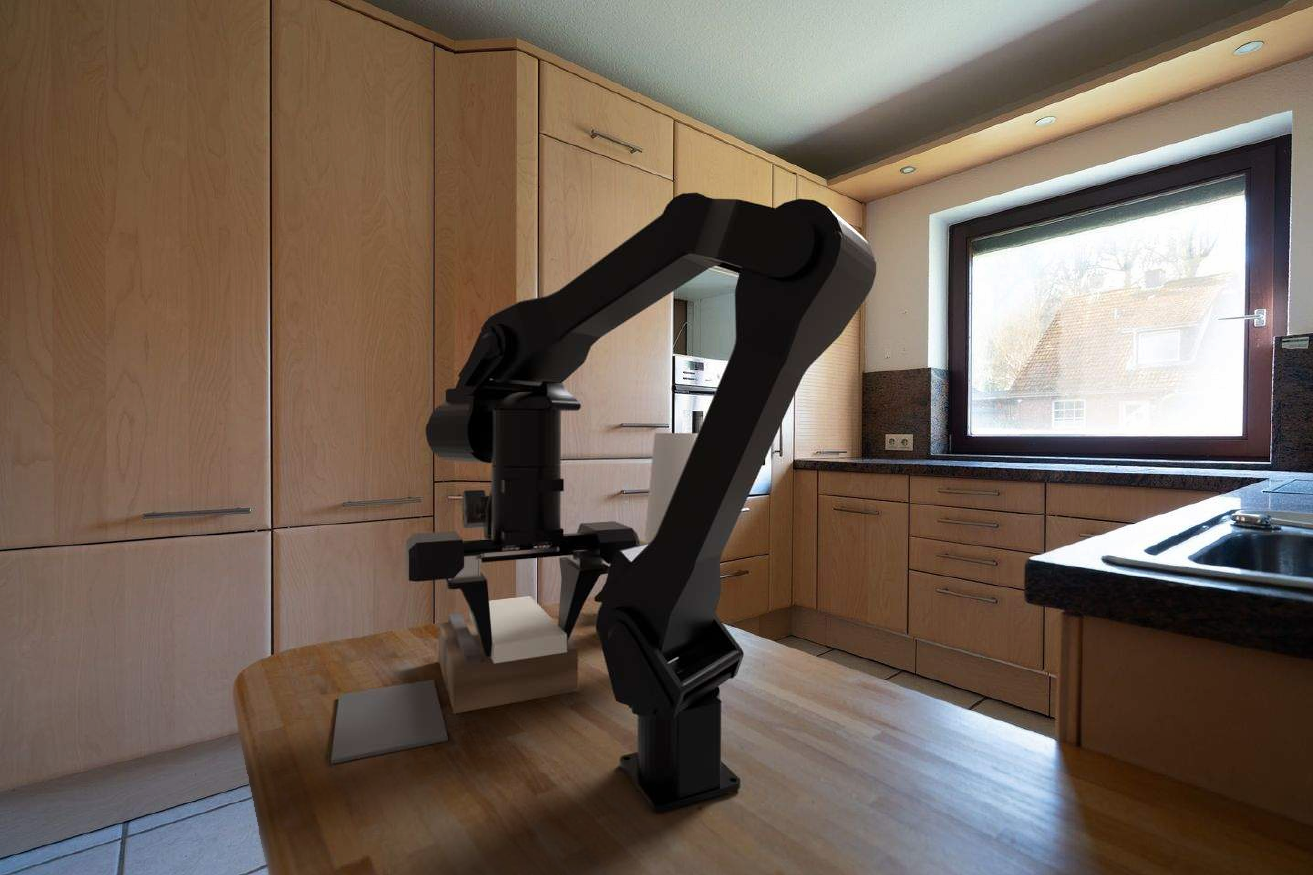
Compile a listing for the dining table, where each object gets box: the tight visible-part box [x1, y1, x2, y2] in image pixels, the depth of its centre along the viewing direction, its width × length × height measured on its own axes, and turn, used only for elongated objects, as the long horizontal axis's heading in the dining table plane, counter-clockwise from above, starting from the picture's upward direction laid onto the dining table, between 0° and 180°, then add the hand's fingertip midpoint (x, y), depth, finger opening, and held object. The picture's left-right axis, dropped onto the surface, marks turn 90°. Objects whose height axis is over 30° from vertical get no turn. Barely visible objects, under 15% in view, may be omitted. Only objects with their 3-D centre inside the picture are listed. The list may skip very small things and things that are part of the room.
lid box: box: [438, 612, 579, 714], centre depth 60 cm, size 13×11×5 cm
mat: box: [330, 679, 449, 765], centre depth 51 cm, size 12×8×1 cm, turn 25°
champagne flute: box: [644, 432, 699, 663], centre depth 65 cm, size 7×7×24 cm
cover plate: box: [469, 595, 567, 663], centre depth 55 cm, size 13×6×2 cm, turn 25°
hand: (526, 649), depth 51 cm, fingers closed on cover plate, 6 cm apart
